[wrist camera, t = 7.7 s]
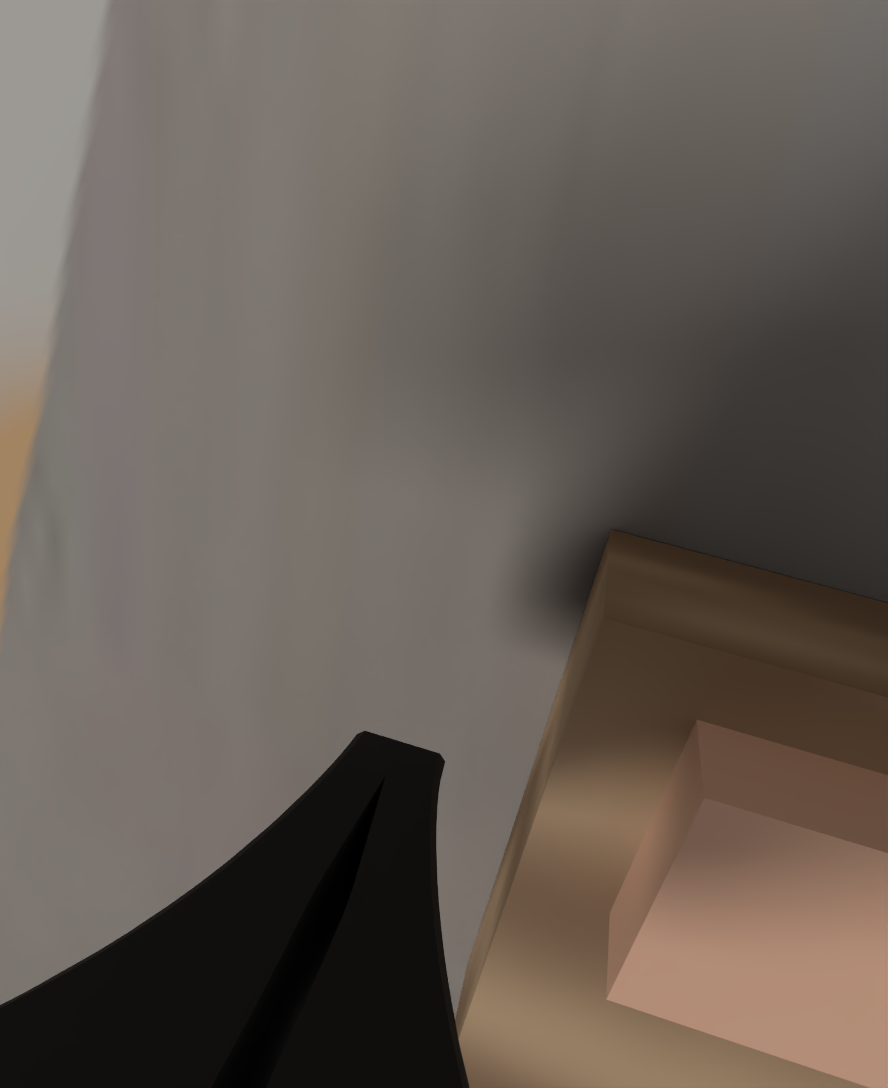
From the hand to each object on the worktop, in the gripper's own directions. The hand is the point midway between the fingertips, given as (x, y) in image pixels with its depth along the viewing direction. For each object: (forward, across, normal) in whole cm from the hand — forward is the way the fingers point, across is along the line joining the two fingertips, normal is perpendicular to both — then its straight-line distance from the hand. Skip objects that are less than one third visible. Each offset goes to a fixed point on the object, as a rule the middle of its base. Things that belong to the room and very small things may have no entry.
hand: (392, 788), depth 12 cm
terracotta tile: (+1, -6, 0) cm, 6 cm away
